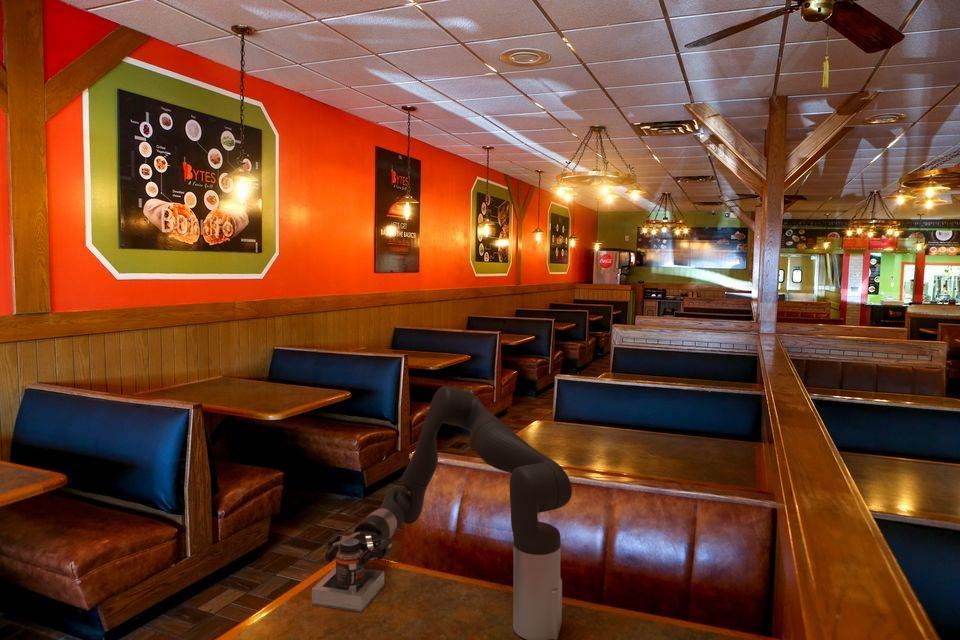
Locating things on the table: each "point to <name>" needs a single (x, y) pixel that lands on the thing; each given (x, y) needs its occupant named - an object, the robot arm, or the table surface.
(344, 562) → the supplement bottle
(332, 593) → the square holder
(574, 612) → the table surface
